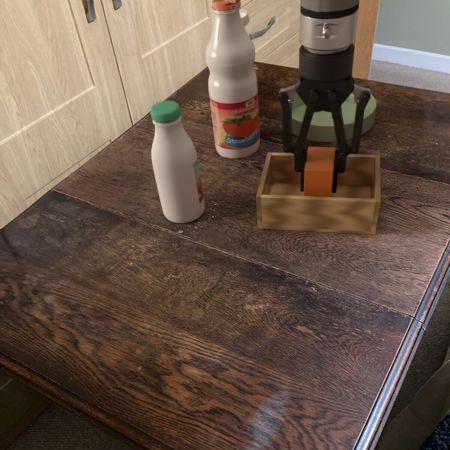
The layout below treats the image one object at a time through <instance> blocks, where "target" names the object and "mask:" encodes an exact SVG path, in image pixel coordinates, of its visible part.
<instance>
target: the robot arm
mask: <svg viewBox="0 0 450 450" xmlns="http://www.w3.org/2000/svg"><path fill="white" fill-rule="evenodd" d="M299 3H300V4H299V5H300V9H299V37H298V38H299V43H300V47H299V49H298V78H297V80H295V84H292V85H290V86H288V87H287V85H282V86H281V87H280V88H279V91H278V92H279V93H278V97H277V98H278V101H279V103H280V106H281V109H282V113H281V114H282V151H283V153H292V154H293V155H294V170H295V172H301V186H300V191H302V192H304V172H305V164H306V158H307V152H308V148H304V147H305V144H306V137H307V134H308V131H309V127H310V124H311V120H312V118H313V114H314V112H320V111H326V112H331V114H332V119H333V123H334V128H335V134H336V140H337V142H336V144H337V149H335V157H334V169H333V182H332V193H336V189H337V177H338V173H342V174H344V172H345V169H346V159H347V156H348V155H350V154H357V155H359V153H360V149H361V141H362V140H361V139H362V135H363V134H362V126H363V118H364V111H365V108H366V106H367V104H368V102H369V100H370V98H371V94H372V88H371V86H370V85H364V86H361V85H359V84H356V83H355V79H354V77H353V69H354V59H355V50H356V49H355V48H356V47H355V45H354V44H353V43H354V42H356V39H357V29H358V18H359V10H360V9H359V8H360V0H300V2H299ZM351 93H352V94H353V95H354V102H356V111H355V119H354V128H353V136H352V139H351V142H348V140H346V133H345V127H344V121H343V115H342V107H341V105H342V104H343V103H344V102H345V100H346V99H347V98H348V97H349V96H350V95H351ZM295 94H298V95H299V97H300V98H301V100H302V101H303V102H304V104H305V105H306V110H305V114H304V117H303V121H302V124H301V128H300V132H299V135H298V136H297V139H296V141H293V134H292V102H293V101H294V98H295ZM361 134H362V135H361Z"/></svg>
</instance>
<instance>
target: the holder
mask: <svg viewBox="0 0 450 450" xmlns="http://www.w3.org/2000/svg"><path fill="white" fill-rule="evenodd" d="M300 186H301V172H295V170H294V155H293V154H292V153H290V152H289V153H285V152H270V151H269V152H267V153H266V157H265V161H264V165H263V170H262V172H261V177H260V179H259V183H258V188H257V192H256V197H255V203H256V204H255V205H256V220H257V229H258V230H259V229H260V230H261V229H262V230H279V231H299V232H315V233H316V232H317V233H333V234H335V233H336V234H352V235H353V234H354V235H370V236H371V235H372V236H373V235H374V236H375V235H376V233H377V227H378V221H379V217H380V216H379V215H380V209H381V204H382V196H381V195H382V193H381V192H382V191H381V188H382V187H381V155H380V154H350V155H348V156H347V159H346V169H345V172H344V174H342V173H338V177H337V189H336V193H332V194H331V197H313V196H304V192H302V191H300Z"/></svg>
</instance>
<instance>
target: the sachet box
mask: <svg viewBox="0 0 450 450" xmlns="http://www.w3.org/2000/svg"><path fill="white" fill-rule="evenodd" d="M335 150H336V147H335V146H333V147H332V146H331V147H329V146H308V147H307V158H306V164H305V172H304V196H313V197H331V194H332V182H333V169H334V157H335Z"/></svg>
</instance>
